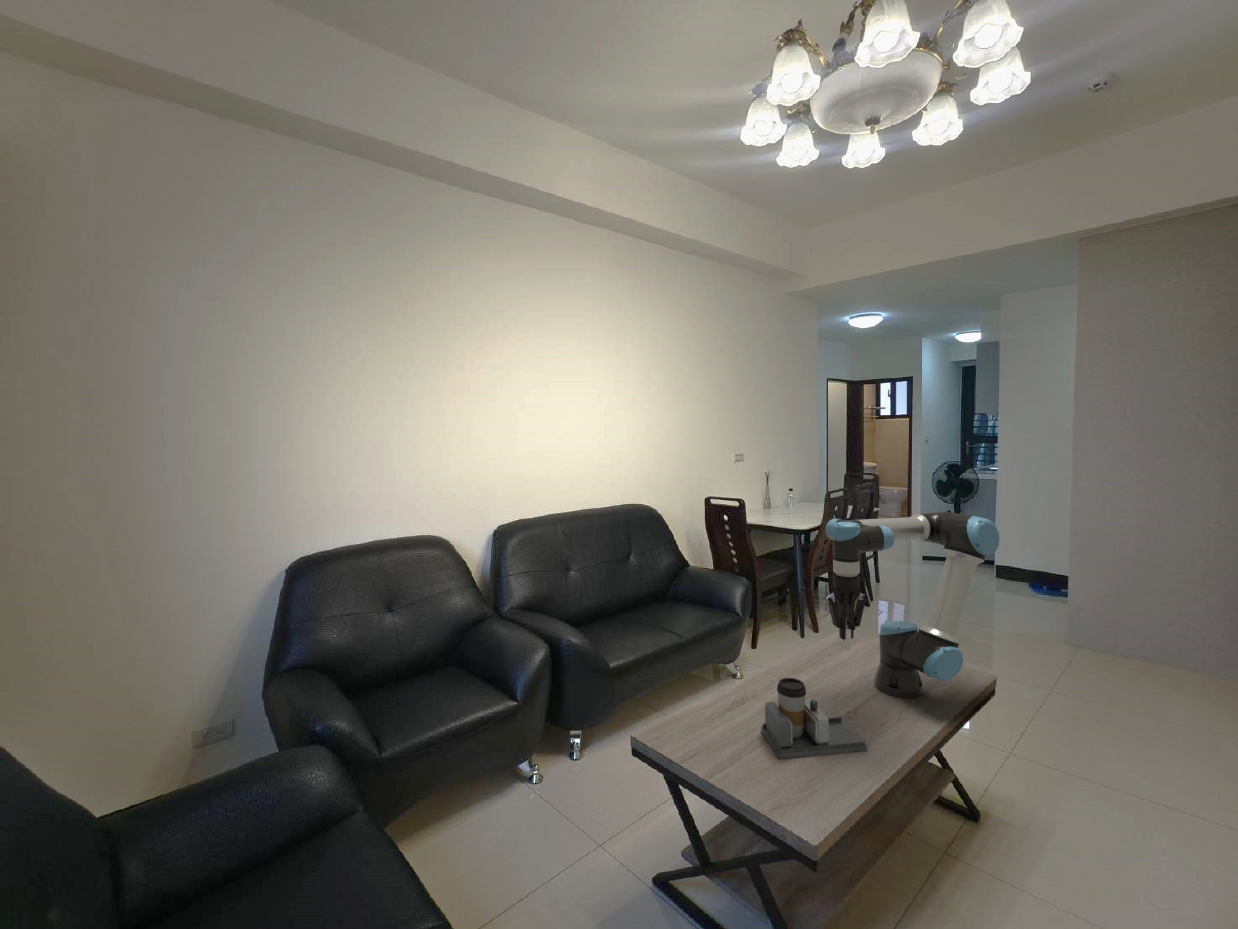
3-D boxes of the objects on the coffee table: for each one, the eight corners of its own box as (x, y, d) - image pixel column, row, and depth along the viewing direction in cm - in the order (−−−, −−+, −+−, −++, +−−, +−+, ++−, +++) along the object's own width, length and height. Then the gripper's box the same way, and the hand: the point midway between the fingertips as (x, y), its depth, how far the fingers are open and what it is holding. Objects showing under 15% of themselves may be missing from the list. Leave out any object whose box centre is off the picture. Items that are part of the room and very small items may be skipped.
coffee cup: (773, 725, 165) (772, 677, 164) (800, 723, 166) (799, 676, 165) (783, 740, 157) (782, 691, 156) (811, 739, 157) (810, 689, 156)
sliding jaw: (809, 723, 165) (809, 691, 165) (828, 746, 153) (828, 712, 153) (798, 724, 165) (798, 692, 164) (816, 747, 153) (816, 713, 152)
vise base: (841, 724, 167) (841, 694, 167) (866, 750, 153) (866, 718, 153) (761, 731, 165) (760, 701, 164) (779, 759, 151) (778, 726, 150)
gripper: (859, 569, 168) (859, 642, 169) (819, 571, 166) (820, 645, 168) (873, 575, 160) (873, 652, 162) (831, 578, 159) (832, 655, 160)
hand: (846, 648), depth 165 cm, fingers closed
